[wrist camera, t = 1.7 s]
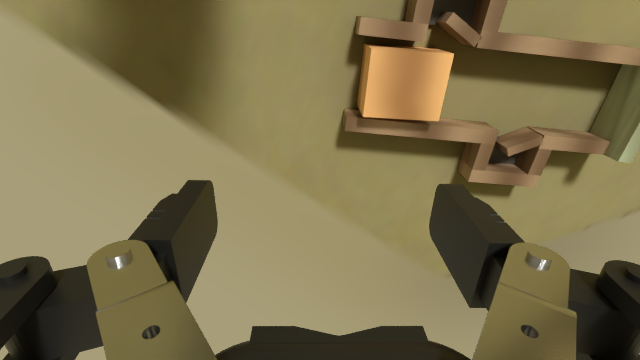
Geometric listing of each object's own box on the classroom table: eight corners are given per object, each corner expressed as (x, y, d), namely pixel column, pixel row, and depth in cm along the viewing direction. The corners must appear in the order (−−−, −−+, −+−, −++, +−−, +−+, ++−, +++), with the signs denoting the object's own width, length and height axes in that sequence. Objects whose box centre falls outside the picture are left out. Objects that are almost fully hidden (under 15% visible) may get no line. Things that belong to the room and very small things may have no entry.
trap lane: (337, 159, 32) (340, 178, 28) (364, -40, 24) (373, -49, 21) (577, 180, 33) (609, 200, 29) (669, -2, 26) (727, -4, 22)
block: (356, 104, 29) (362, 116, 26) (363, 43, 27) (371, 48, 24) (423, 108, 30) (438, 121, 26) (435, 48, 27) (454, 53, 24)
